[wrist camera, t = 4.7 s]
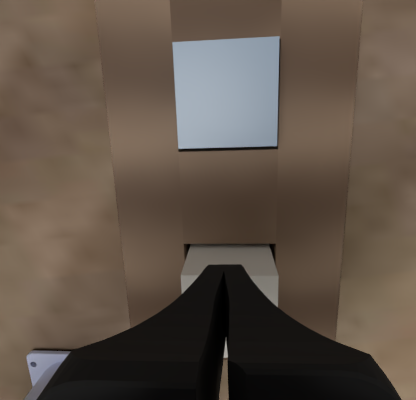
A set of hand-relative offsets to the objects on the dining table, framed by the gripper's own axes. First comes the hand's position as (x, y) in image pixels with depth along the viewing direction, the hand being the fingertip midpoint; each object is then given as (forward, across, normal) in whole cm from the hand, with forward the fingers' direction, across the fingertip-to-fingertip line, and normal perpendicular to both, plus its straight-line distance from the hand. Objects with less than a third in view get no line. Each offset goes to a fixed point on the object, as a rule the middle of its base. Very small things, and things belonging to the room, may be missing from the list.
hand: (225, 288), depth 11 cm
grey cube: (+8, 0, -7) cm, 10 cm away
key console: (+9, 0, -2) cm, 10 cm away
